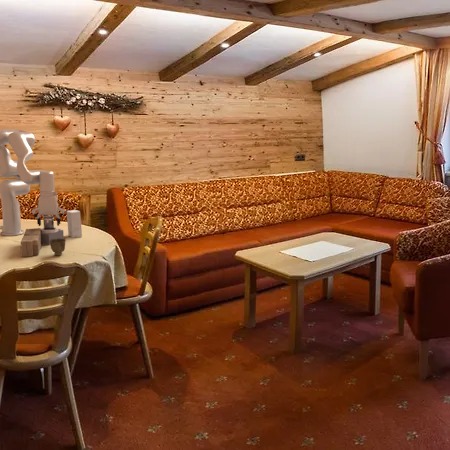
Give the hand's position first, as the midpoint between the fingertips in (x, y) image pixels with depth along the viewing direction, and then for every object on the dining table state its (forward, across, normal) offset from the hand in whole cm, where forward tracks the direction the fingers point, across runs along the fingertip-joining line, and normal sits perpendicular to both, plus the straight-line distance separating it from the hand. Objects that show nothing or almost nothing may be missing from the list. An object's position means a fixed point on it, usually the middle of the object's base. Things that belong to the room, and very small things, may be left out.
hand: (49, 225), depth 275 cm
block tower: (+9, +6, +16) cm, 20 cm away
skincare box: (+10, -12, -14) cm, 21 cm away
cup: (+10, -9, +29) cm, 32 cm away
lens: (+3, 0, 0) cm, 3 cm away
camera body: (+9, 0, 0) cm, 9 cm away
